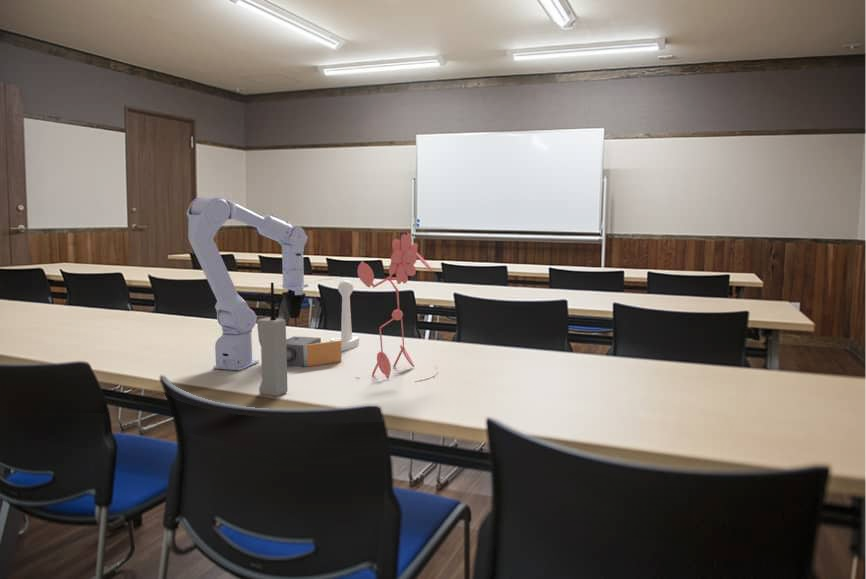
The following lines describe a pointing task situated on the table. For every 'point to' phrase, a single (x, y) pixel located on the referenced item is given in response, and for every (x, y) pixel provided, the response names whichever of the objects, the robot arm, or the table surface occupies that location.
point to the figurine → (403, 267)
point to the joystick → (346, 318)
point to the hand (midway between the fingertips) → (294, 317)
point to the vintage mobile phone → (273, 353)
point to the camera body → (298, 349)
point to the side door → (322, 353)
